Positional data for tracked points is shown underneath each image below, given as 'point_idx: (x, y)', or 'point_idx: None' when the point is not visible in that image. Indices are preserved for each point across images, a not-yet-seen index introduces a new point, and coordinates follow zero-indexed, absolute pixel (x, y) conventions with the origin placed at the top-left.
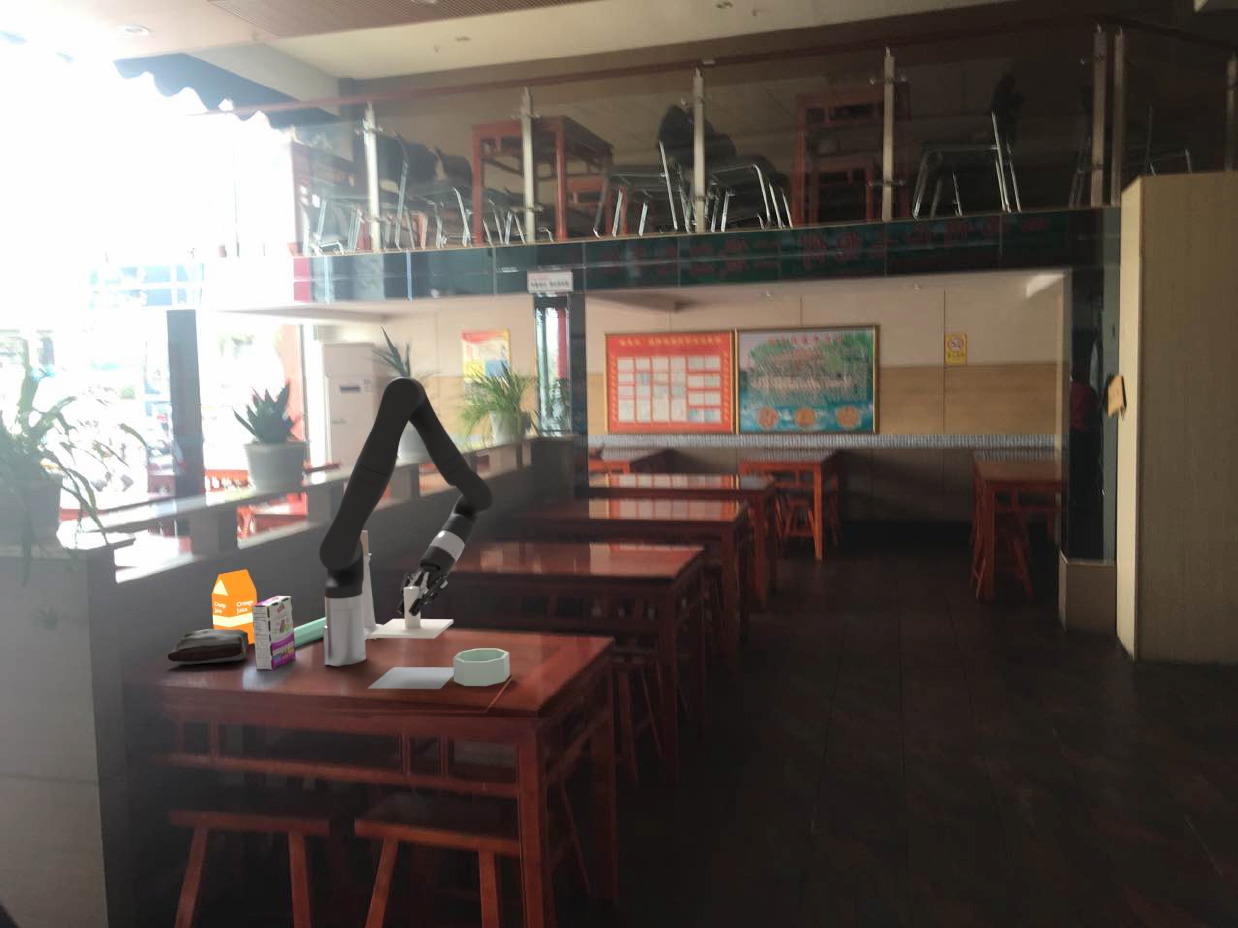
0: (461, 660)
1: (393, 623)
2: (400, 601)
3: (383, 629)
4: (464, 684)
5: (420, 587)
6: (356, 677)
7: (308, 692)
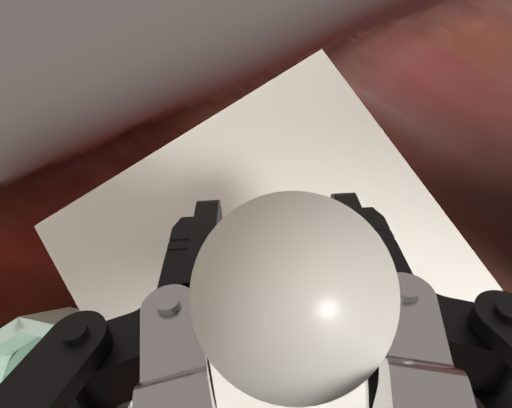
0: (45, 330)
1: (428, 260)
2: (396, 245)
3: (352, 143)
4: (65, 308)
5: (198, 377)
6: (442, 187)
7: (418, 30)
